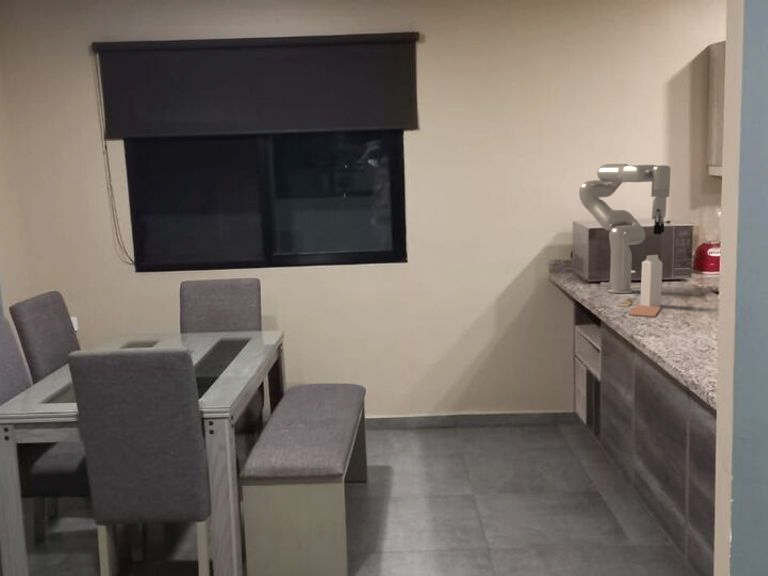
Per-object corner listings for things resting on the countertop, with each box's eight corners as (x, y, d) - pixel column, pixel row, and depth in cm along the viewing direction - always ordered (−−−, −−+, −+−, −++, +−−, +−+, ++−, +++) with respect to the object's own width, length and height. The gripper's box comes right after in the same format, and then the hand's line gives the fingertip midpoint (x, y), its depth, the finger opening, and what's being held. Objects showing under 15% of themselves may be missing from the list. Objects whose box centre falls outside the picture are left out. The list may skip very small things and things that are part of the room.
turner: (628, 307, 325) (628, 305, 325) (619, 306, 326) (619, 304, 326) (633, 301, 338) (633, 298, 338) (625, 300, 339) (625, 298, 339)
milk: (640, 305, 329) (641, 254, 325) (651, 303, 331) (653, 253, 327) (649, 307, 323) (651, 256, 320) (661, 306, 325) (662, 255, 322)
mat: (628, 315, 308) (628, 314, 307) (636, 306, 325) (636, 305, 325) (654, 317, 303) (654, 315, 303) (661, 308, 321) (661, 306, 320)
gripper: (654, 192, 343) (652, 231, 346) (648, 194, 328) (647, 235, 331) (671, 192, 340) (669, 231, 343) (666, 194, 325) (665, 235, 328)
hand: (658, 233), depth 337 cm, fingers open, 7 cm apart
